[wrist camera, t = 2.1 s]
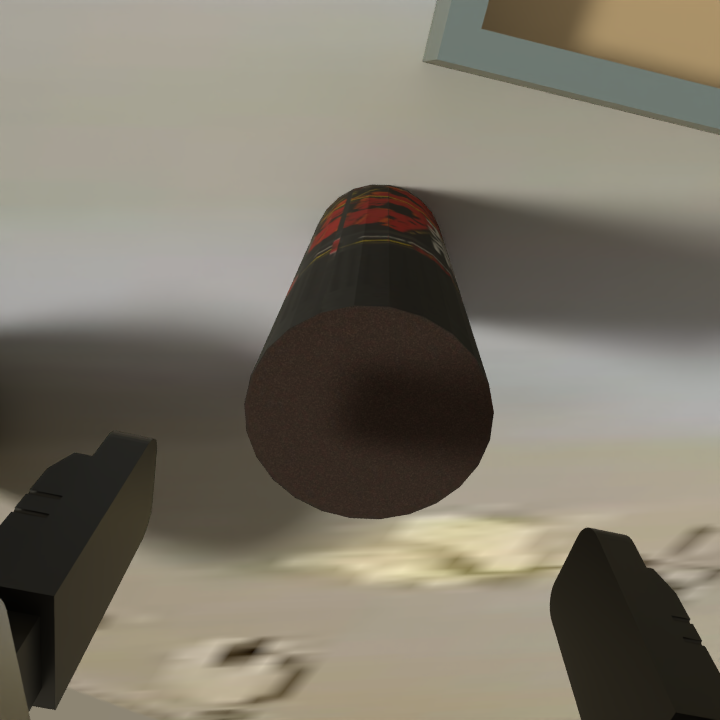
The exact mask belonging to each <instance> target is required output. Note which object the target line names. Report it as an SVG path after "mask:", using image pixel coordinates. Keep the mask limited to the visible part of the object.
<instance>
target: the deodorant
mask: <svg viewBox="0 0 720 720" xmlns="http://www.w3.org/2000/svg"><path fill="white" fill-rule="evenodd" d="M493 414H494V411H493V405H492V399H491V393H490V388H489V383H488V380H487V377H486V373H485V370H484V367H483V364H482V361H481V358H480V355H479V351H478V348H477V345H476V342H475V339H474V336H473V333H472V329H471V326H470V323H469V320H468V317H467V314H466V311H465V307H464V304H463V301H462V298H461V295H460V292H459V289H458V286H457V282H456V279H455V276H454V273H453V270H452V267H451V264H450V260H449V257H448V254H447V251H446V248H445V245H444V242H443V238H442V235H441V232H440V229H439V226H438V224H437V222H436V220H435V218H434V216H433V214H432V212H431V211H430V210H429V209H428V208H427V207H426V206H425V205H424V203H423V202H422V201H421V200H420V199H418V198H417V197H415V196H414V195H412V194H410V193H409V192H407V191H406V190H403V189H400V188H396V187H393V186H390V185H368V186H364V187H360V188H356V189H353V190H351V191H349V192H348V193H346V194H344V195H342V196H341V197H339V198H338V199H337V200H336V201H335V202H334V203H333V204H332V205H331V206H330V207H329V208H328V209H327V210H326V211H325V213H324V215H323V217H322V218H321V220H320V222H319V224H318V226H317V228H316V230H315V233H314V235H313V237H312V239H311V242H310V244H309V246H308V248H307V251H306V253H305V255H304V257H303V260H302V262H301V264H300V266H299V269H298V271H297V273H296V275H295V278H294V280H293V282H292V284H291V287H290V289H289V291H288V293H287V296H286V298H285V300H284V302H283V305H282V307H281V309H280V311H279V314H278V316H277V318H276V320H275V323H274V325H273V327H272V329H271V332H270V334H269V336H268V338H267V341H266V343H265V345H264V347H263V350H262V352H261V354H260V356H259V359H258V361H257V363H256V365H255V368H254V370H253V372H252V374H251V378H250V382H249V386H248V391H247V395H246V399H245V416H246V429H247V433H248V436H249V438H250V441H251V444H252V446H253V449H254V452H255V454H256V457H257V458H258V460H259V461H260V462H261V464H262V465H263V466H264V468H265V469H266V470H267V472H268V473H269V475H270V476H271V477H272V479H273V480H274V481H276V482H277V483H278V484H279V485H280V486H282V487H283V488H284V489H285V490H287V491H288V492H289V493H290V494H291V495H293V496H294V497H295V498H297V499H299V500H301V501H303V502H305V503H307V504H309V505H311V506H313V507H315V508H317V509H319V510H321V511H325V512H329V513H333V514H337V515H341V516H345V517H349V518H364V519H384V518H390V517H395V516H401V515H407V514H411V513H413V512H416V511H418V510H421V509H423V508H426V507H428V506H431V505H433V504H436V503H437V502H439V501H440V500H442V499H443V498H445V497H446V496H447V495H449V494H450V493H452V492H453V491H455V490H456V489H457V488H459V487H460V486H461V485H462V484H463V483H464V481H465V480H466V479H467V478H468V477H469V476H470V474H471V473H472V472H473V471H474V470H475V469H476V467H477V466H478V465H479V463H480V460H481V458H482V456H483V454H484V452H485V450H486V447H487V445H488V443H489V441H490V436H491V428H492V421H493Z"/></svg>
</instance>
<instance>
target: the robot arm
mask: <svg viewBox="0 0 720 720" xmlns="http://www.w3.org/2000/svg"><path fill="white" fill-rule="evenodd" d="M156 453H157V442H156V440H155V439H152V438H147V437H142V436H137V435H132V434H127V433H123V432H118V431H112V432H111V433H110V434H109V435H108V436H107V437H106V439H105V440H104V442H103V443H102V444H101V446H100V447H99V448H98V450H97V451H96V452H95V454H94V455H93V456H89V455H84V454H79V453H73V454H71V455H70V456H68V457H66V458H65V459H63V460H61V461H59V462H58V463H56V464H54V465H52V466H51V467H49V468H47V470H46V471H45V472H44V473H43V474H42V476H41V477H40V478H39V479H38V480H37V482H36V483H35V484H34V485H33V486H32V488H31V489H30V492H29V494H26V495H25V496H24V497H23V498H22V500H21V501H20V502H19V503H18V504H17V506H16V507H15V510H14V512H11V513H10V514H9V515H8V516H7V518H6V519H5V520H4V521H3V522H2V524H1V525H0V720H30V716H29V711H30V709H31V707H32V706H36V707H42V708H47V709H54V710H56V708H57V706H58V704H59V702H60V700H61V698H62V696H63V694H64V692H65V690H66V688H67V686H68V684H69V682H70V680H71V679H72V677H73V675H74V673H75V671H76V669H77V667H78V665H79V663H80V661H81V659H82V657H83V655H84V653H85V651H86V649H87V647H88V645H89V643H90V641H91V639H92V637H93V635H94V633H95V631H96V629H97V627H98V625H99V624H100V622H101V620H102V618H103V616H104V614H105V612H106V610H107V608H108V606H109V604H110V602H111V600H112V598H113V596H114V594H115V592H116V590H117V588H118V586H119V584H120V582H121V580H122V578H123V576H124V574H125V572H126V570H127V569H128V567H129V565H130V563H131V561H132V559H133V557H134V555H135V553H136V551H137V549H138V547H139V545H140V543H141V541H142V539H143V537H144V534H145V531H146V529H147V526H148V522H149V519H150V514H151V509H152V502H153V490H154V478H155V466H156ZM550 615H551V620H552V623H553V627H554V630H555V633H556V637H557V640H558V643H559V647H560V650H561V653H562V657H563V660H564V664H565V667H566V670H567V674H568V677H569V680H570V684H571V687H572V690H573V694H574V697H575V700H576V704H577V707H578V710H579V714H580V717H581V720H720V673H719V671H718V669H717V667H716V665H715V664H714V662H713V660H712V658H711V656H710V655H709V653H708V651H707V649H706V647H705V646H702V645H701V641H702V640H701V638H700V636H699V634H698V633H697V631H696V629H695V627H694V625H693V624H690V622H689V621H690V618H689V616H688V614H687V613H686V611H685V609H684V607H683V605H682V603H681V602H680V600H679V598H678V596H677V594H676V593H675V592H674V591H673V590H672V589H671V587H670V586H669V585H668V584H667V583H666V582H665V581H664V580H663V579H662V578H661V577H660V576H659V575H658V574H657V573H656V571H655V570H654V569H651V568H646V566H645V564H644V562H643V560H642V558H641V556H640V554H639V552H638V550H637V548H636V547H635V545H634V543H633V541H632V539H631V538H630V537H628V536H627V535H623V534H618V533H613V532H608V531H603V530H598V529H593V528H585V529H583V530H582V531H581V532H580V533H579V535H578V537H577V539H576V541H575V543H574V545H573V547H572V549H571V551H570V553H569V555H568V557H567V559H566V561H565V563H564V565H563V567H562V569H561V571H560V573H559V575H558V577H557V579H556V581H555V583H554V585H553V588H552V592H551V597H550Z"/></svg>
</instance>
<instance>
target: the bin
mask: <svg viewBox="0 0 720 720" xmlns="http://www.w3.org/2000/svg"><path fill="white" fill-rule="evenodd" d="M423 62H426V63H430V64H434V65H438V66H442V67H446V68H450V69H454V70H458V71H463V72H467V73H471V74H475V75H479V76H483V77H487V78H491V79H495V80H499V81H503V82H507V83H511V84H515V85H519V86H523V87H527V88H532V89H536V90H540V91H544V92H548V93H552V94H556V95H560V96H564V97H568V98H572V99H576V100H580V101H584V102H588V103H592V104H596V105H601V106H605V107H609V108H613V109H617V110H621V111H625V112H629V113H633V114H637V115H641V116H645V117H649V118H653V119H657V120H661V121H665V122H670V123H674V124H678V125H682V126H686V127H690V128H694V129H698V130H702V131H706V132H710V133H714V134H718V135H720V0H437V3H436V7H435V11H434V15H433V20H432V24H431V28H430V32H429V36H428V41H427V45H426V49H425V53H424V57H423Z"/></svg>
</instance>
